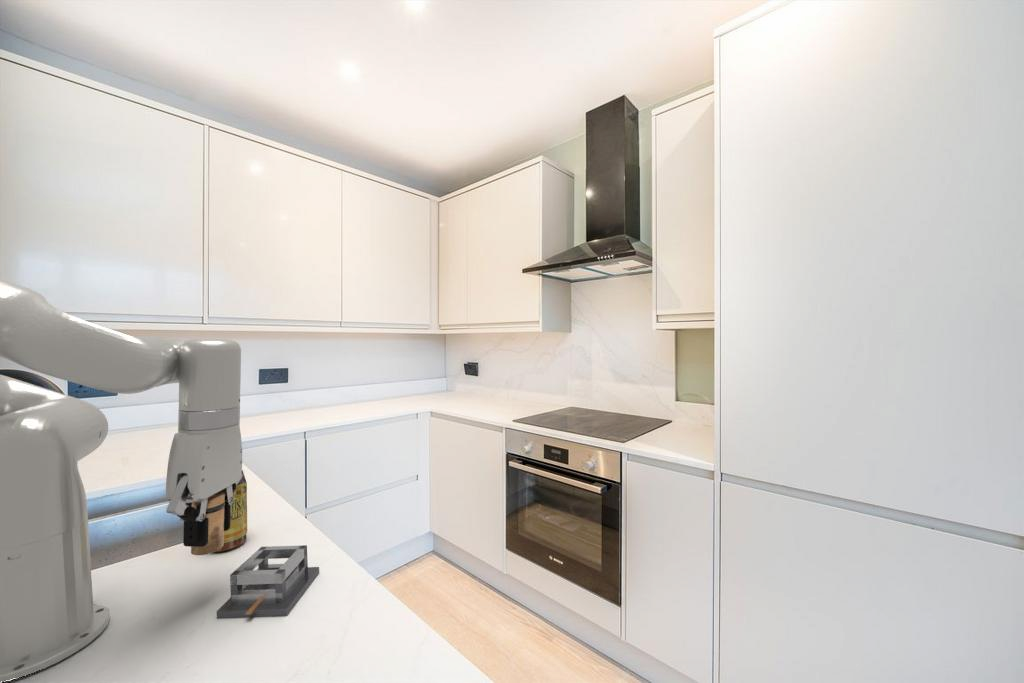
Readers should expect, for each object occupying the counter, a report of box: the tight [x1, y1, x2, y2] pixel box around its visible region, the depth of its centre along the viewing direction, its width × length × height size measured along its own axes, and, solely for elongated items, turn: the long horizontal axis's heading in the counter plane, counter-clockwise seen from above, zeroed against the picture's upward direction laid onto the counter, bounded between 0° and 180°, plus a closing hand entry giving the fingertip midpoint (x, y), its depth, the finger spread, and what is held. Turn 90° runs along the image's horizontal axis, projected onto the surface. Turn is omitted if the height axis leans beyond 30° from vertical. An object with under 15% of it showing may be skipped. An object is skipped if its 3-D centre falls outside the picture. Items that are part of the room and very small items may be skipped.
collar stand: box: [216, 544, 320, 619], centre depth 61 cm, size 10×11×6 cm
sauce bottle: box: [214, 469, 248, 553], centre depth 76 cm, size 7×6×20 cm
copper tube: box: [190, 492, 225, 556], centre depth 61 cm, size 4×4×8 cm
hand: (207, 536), depth 61 cm, fingers closed on copper tube, 4 cm apart
